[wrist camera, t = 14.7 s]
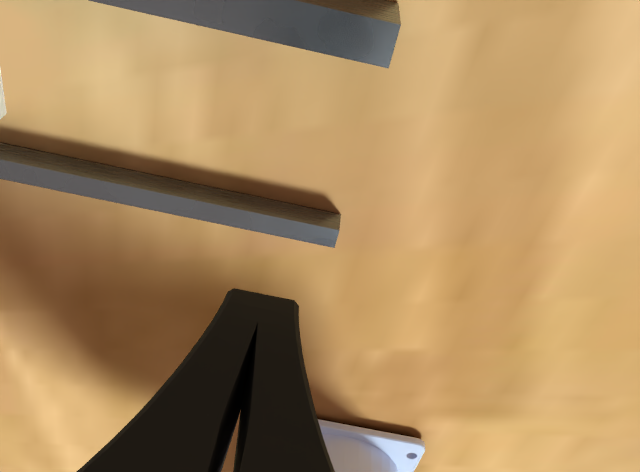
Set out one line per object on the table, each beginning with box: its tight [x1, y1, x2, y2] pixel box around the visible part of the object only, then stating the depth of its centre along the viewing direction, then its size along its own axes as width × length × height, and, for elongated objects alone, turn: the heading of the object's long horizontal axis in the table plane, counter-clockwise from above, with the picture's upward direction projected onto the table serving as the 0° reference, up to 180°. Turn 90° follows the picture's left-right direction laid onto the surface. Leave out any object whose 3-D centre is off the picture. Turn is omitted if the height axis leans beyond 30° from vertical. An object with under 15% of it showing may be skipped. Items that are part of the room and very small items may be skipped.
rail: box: [0, 0, 401, 248], centre depth 18 cm, size 8×17×3 cm, turn 79°
